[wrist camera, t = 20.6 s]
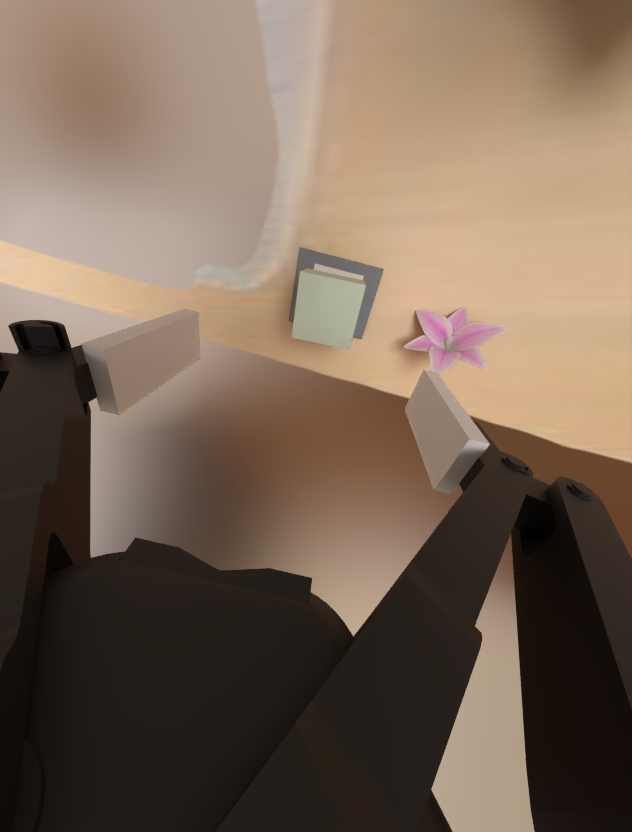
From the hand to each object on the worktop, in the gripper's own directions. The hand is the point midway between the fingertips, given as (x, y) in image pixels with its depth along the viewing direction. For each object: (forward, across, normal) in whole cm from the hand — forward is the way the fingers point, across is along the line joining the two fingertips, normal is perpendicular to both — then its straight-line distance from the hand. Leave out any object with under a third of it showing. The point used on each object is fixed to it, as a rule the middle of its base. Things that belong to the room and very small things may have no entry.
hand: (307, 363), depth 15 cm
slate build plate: (+29, 0, 0) cm, 29 cm away
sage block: (+22, 0, 0) cm, 22 cm away
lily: (+29, +18, -1) cm, 34 cm away
